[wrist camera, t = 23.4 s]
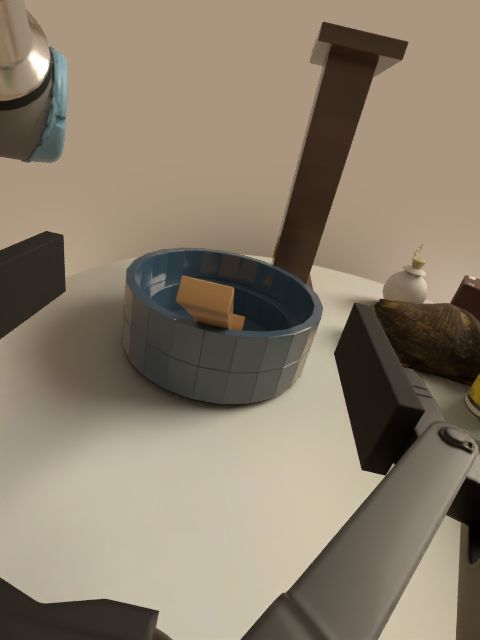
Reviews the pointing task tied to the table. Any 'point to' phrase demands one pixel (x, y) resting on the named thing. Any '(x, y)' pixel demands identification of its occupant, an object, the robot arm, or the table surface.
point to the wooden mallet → (209, 303)
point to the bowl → (214, 342)
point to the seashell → (433, 337)
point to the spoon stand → (329, 136)
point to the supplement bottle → (474, 397)
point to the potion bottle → (407, 284)
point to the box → (468, 296)
